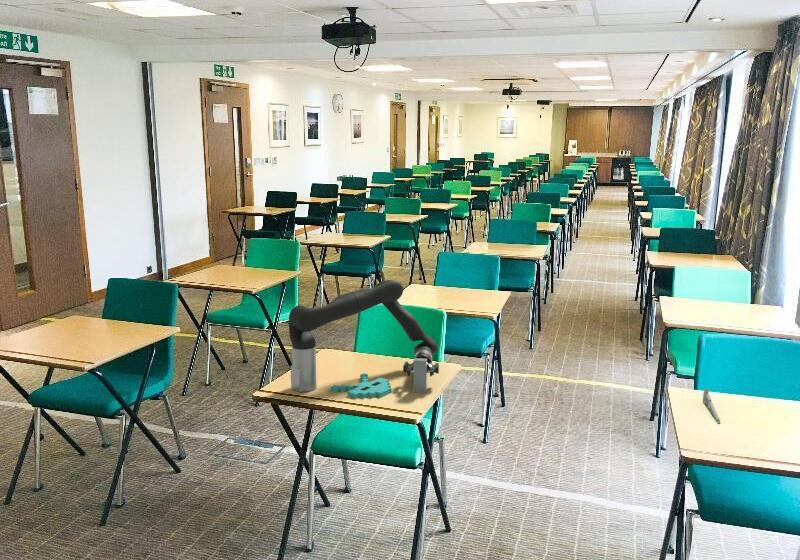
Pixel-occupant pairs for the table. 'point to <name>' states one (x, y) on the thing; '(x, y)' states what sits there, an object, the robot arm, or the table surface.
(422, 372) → the grey rectangular block
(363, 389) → the alien figure
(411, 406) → the table surface
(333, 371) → the table surface
